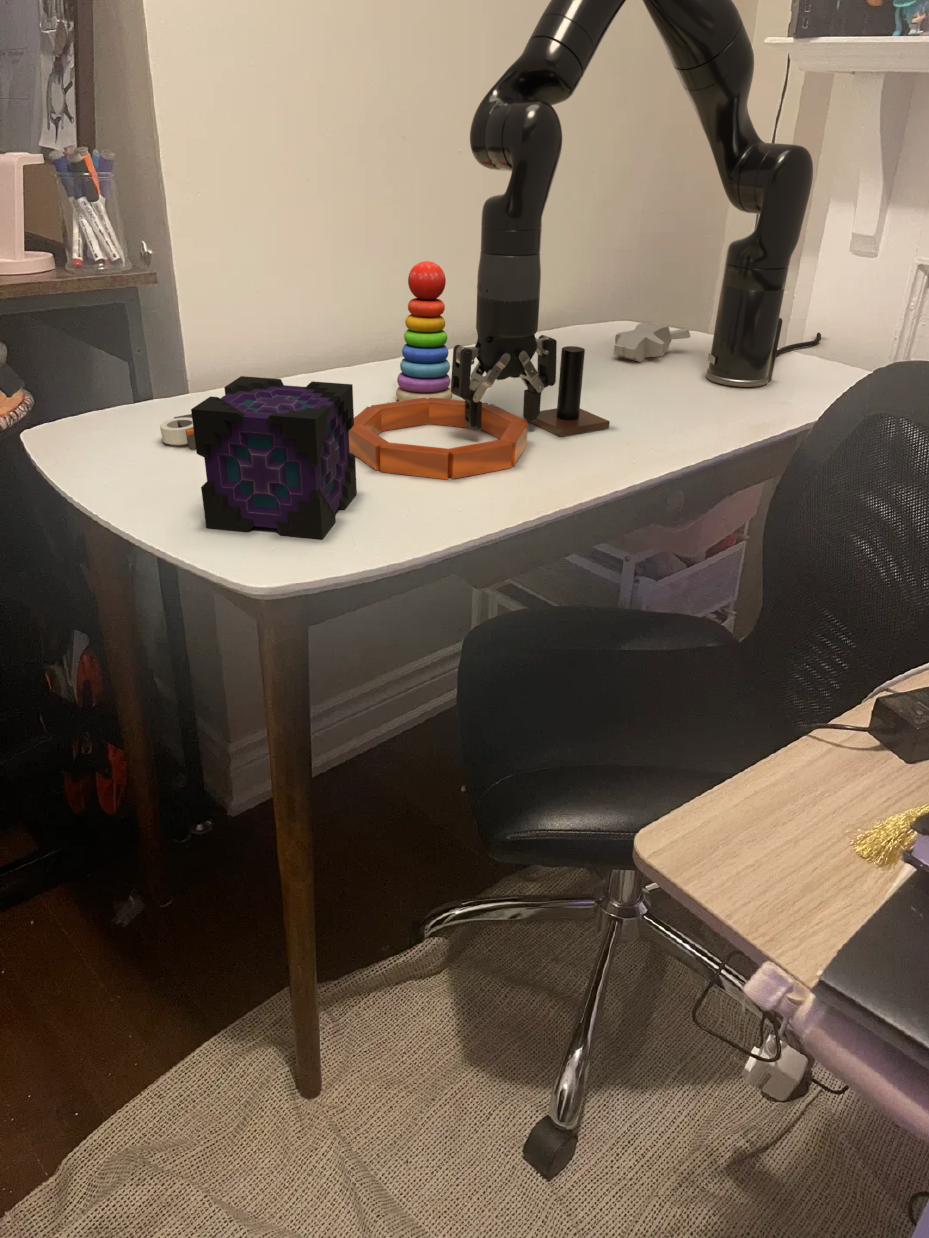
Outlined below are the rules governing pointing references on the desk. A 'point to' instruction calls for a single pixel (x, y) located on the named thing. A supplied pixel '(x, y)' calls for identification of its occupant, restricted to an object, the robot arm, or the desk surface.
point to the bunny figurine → (646, 341)
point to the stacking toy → (425, 338)
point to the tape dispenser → (179, 431)
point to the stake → (570, 400)
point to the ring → (433, 458)
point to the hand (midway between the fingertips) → (502, 424)
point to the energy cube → (276, 456)
